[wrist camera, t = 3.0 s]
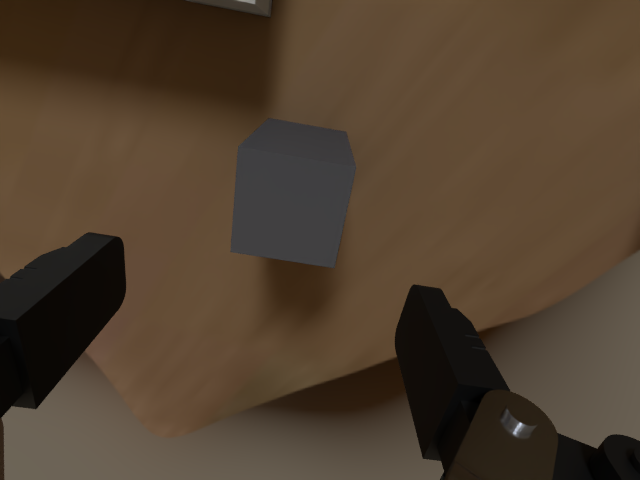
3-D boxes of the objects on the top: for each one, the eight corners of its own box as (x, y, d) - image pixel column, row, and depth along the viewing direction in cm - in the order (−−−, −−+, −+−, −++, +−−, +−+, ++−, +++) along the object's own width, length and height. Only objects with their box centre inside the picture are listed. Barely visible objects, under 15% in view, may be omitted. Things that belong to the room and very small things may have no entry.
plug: (345, 131, 24) (356, 166, 16) (331, 204, 26) (334, 268, 18) (268, 118, 23) (238, 146, 15) (261, 192, 25) (230, 251, 17)
